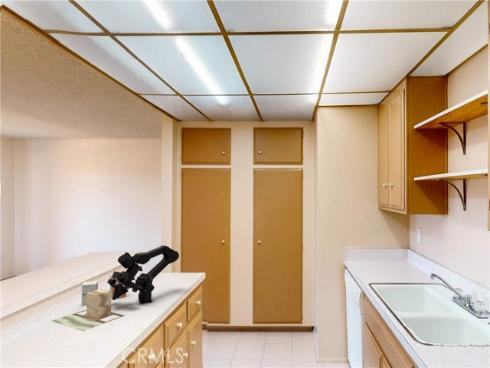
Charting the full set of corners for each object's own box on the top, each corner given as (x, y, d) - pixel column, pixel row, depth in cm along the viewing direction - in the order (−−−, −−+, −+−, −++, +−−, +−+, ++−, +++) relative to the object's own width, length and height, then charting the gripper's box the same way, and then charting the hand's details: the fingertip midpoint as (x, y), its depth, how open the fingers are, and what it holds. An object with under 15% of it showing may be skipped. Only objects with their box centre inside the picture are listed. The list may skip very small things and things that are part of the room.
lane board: (93, 310, 180) (93, 307, 180) (125, 318, 167) (125, 315, 167) (51, 324, 161) (51, 320, 161) (83, 334, 148) (83, 331, 148)
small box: (112, 299, 199) (112, 276, 199) (109, 296, 204) (109, 274, 205) (126, 297, 203) (126, 274, 204) (123, 294, 209) (123, 272, 209)
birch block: (101, 310, 174) (101, 289, 174) (111, 313, 170) (111, 291, 170) (86, 315, 167) (86, 292, 168) (96, 318, 163) (96, 295, 163)
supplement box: (81, 308, 183) (81, 284, 183) (83, 304, 190) (83, 281, 190) (96, 307, 185) (96, 283, 185) (98, 303, 192) (98, 280, 192)
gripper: (110, 263, 186) (91, 288, 176) (133, 266, 176) (115, 293, 166) (122, 275, 192) (105, 300, 182) (145, 278, 182) (128, 305, 172)
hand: (113, 299), depth 175 cm, fingers closed
